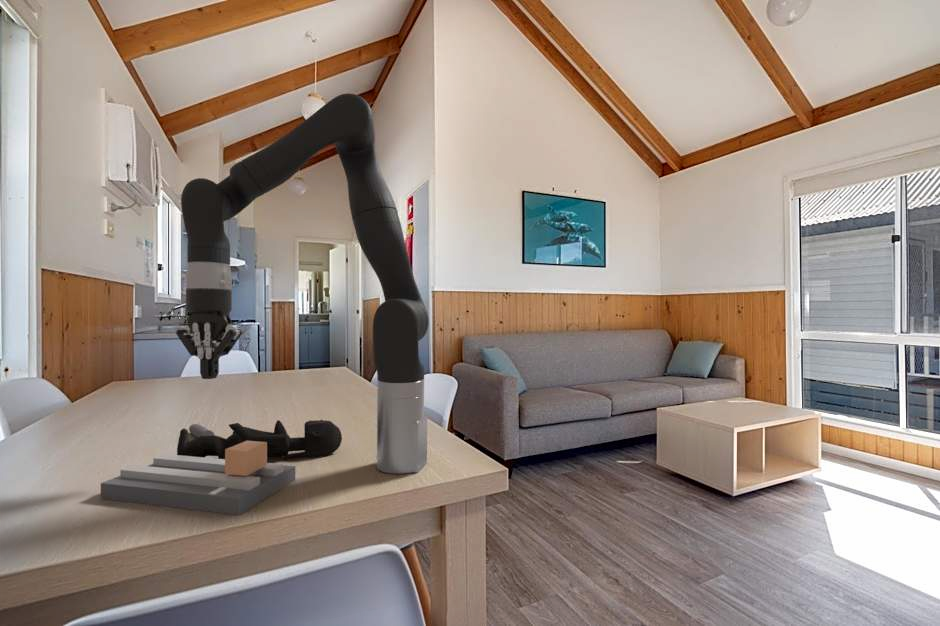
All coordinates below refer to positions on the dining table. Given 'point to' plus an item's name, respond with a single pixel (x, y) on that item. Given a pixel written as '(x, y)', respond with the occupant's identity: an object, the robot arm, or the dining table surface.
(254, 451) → the block
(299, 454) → the figurine
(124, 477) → the twin slider track
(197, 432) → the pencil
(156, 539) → the dining table surface
